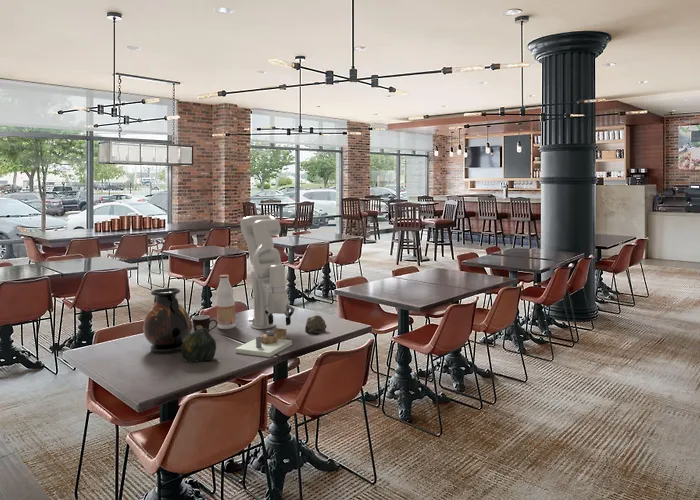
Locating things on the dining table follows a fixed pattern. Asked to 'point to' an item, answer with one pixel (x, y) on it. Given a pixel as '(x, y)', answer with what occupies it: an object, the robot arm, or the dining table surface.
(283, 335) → the maple gear
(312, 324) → the grey lumpy stone
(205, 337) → the squash
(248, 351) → the gear board
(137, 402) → the dining table surface
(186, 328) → the amphora vase
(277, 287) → the robot arm
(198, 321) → the coffee mug
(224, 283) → the fruit juice
